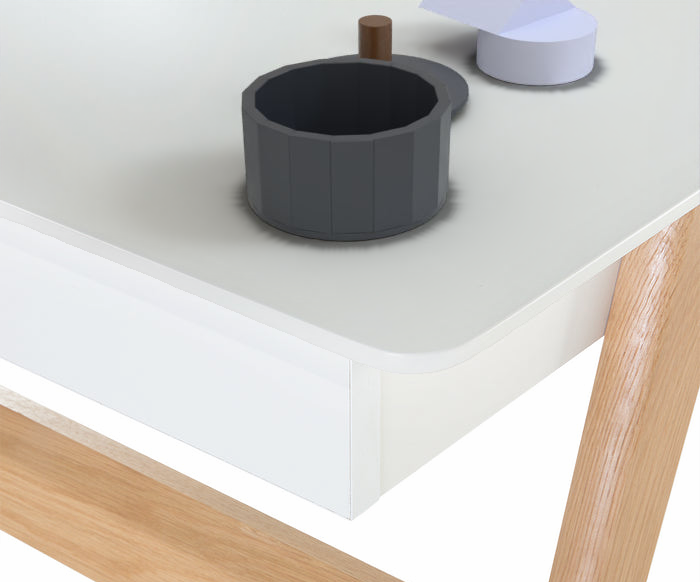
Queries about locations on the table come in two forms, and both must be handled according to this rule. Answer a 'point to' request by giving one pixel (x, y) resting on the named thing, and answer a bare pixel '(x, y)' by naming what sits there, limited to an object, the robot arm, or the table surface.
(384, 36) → the lid
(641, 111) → the table surface
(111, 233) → the table surface
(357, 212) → the pot
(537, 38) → the wedge on round base
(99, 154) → the table surface
